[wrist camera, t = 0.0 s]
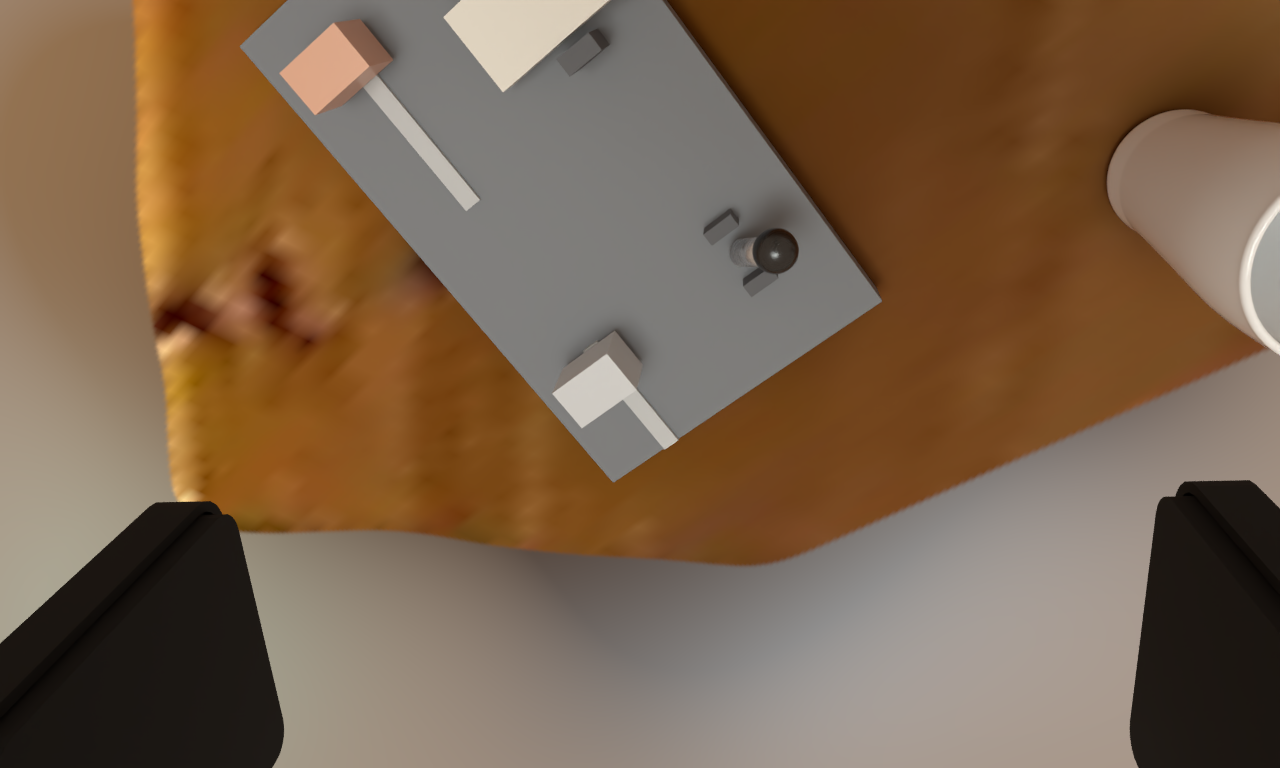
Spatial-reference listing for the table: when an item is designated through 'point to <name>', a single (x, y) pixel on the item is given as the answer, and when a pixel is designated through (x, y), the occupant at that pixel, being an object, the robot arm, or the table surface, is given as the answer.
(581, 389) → the slide paddle
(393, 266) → the table surface
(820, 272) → the switch panel
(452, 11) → the rocker switch
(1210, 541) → the robot arm
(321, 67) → the slide paddle
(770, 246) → the toggle lever
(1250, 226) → the drinking glass
